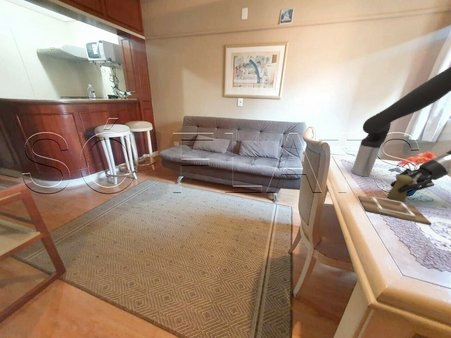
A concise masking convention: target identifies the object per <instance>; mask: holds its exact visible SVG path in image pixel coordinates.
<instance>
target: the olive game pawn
mask: <svg viewBox="0 0 451 338" xmlns="http://www.w3.org/2000/svg"><path fill="white" fill-rule="evenodd" d="M398 175H399V174H398ZM398 175H397V176H396V178H395V179H396V180H395V181H397V182H396V183H395V185H394V186H393V187H391V189H390V191H389V192H388V194H387V197H388V199H390V200H394V201H399V202H403V203H404V202H405V201H406V196H407V194H408V191H406V192H403V193H399V192H398V190H397V189H398V188H400V187H402V186H404V185H407V184H409V183H411V182H412V178H411V177H409V176H406V175H399V176H398Z"/></svg>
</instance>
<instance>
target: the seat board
mask: <svg viewBox="0 0 451 338" xmlns="http://www.w3.org/2000/svg"><path fill="white" fill-rule="evenodd" d="M357 199H358V201H359V202H360V204H361V205H362V208H363V209H364V211H365V212H367V213H372V214H377V215H381V216H385V217H391V218H395V219H399V220H404V221H409V222H413V223H414V222H415V223H418V224H419V223H420V224H423V225H427V226H428V225H429V226H431V225H432V222H430V220H428V218H427V217H425V216H424V214H423V213H422V212H420V211H419V210H418V209H417V207H415V206H414V205H408V204H405V203H404V201H403V202H400V201H396V200H393V199H390V198H382V197H377V196H373V195H372V196H371V197H366V196H361V195H358V196H357Z"/></svg>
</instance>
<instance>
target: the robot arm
mask: <svg viewBox="0 0 451 338" xmlns="http://www.w3.org/2000/svg"><path fill="white" fill-rule="evenodd" d="M450 92H451V66H449V67H447V68H446V69H445V70H443V71H441V72H440V73H438V74H436V75H435V76H433V77H431V78H430V79H428V80H427V81H425V82H423V83H421V84H420V85H419V86H417V87H416V88H414V89H412V90H411V91H410V92H408V93H407V94H406V95H404V96H403V97H401V98H400V99H398V100H397V101H395V102H394V103H393V104H390V106H388V107H386V108H385V109H383V110H381V111H380V112H378V113H376V114H374V115H373V116H370V117H369V118H367V119H366V120H365V121H364V122H363V125H362V130H363V132H364V133H366V134H367V136H366V137H364V138H363V139H361V141H360V145H359V147H358V151H357V154H356V157H355V161H354V163H353V165H352V169H351V173H352V174H354V175H356V176H360V177H367V178H368V177H370V176H371V174H372V171H373V168H374V167H375V163H376V160H377V158H378V154H379V152H380V149H381V147H382V144H384V143H385V141H386V138H387V137H388V134H389V132H390V129H391V125H392V124H391V123H393V122H394V121H397V120H398V119H401V118H403V117H406V116H409V115H412V114H414V113H417V112H419V111H421V110H423V109H424V108H427V107H428V106H430V105H432V104H434V103H436V102H437V101H439V100H440V99H441V98H443V97H445V96H446V95H447V94H449V93H450ZM449 174H451V150H449V151H447V152H444V153H442V154H440V155H438V156H435V157H434V158H432V159H430V160H428V161H426V162H424V163H421V164H419V167H418V168H417V169H414V170H412V169H410V168H406V169H404V171H402V172H400V173H399V174H398V175H397V176H399V175H406V176H409V177H411V178H412V182H411V183H409V184H407V185H404V186H402V187H400V188H398V189H397V190H398V192H399V193H403V192H406V191H407V192H408V191H409V190H410V191H411V190H415V191H416V192H417V191H420V190H425V189H427V188H430V187H433V186H435V183H434V182H433V181H436V180H439V179H441V178H443V177H445V176H447V175H449ZM396 182H397V181H396V180H394V181H392V182H391V183H390V184H389V185H390V187H391V188H393V186H394V185H395V183H396Z"/></svg>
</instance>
